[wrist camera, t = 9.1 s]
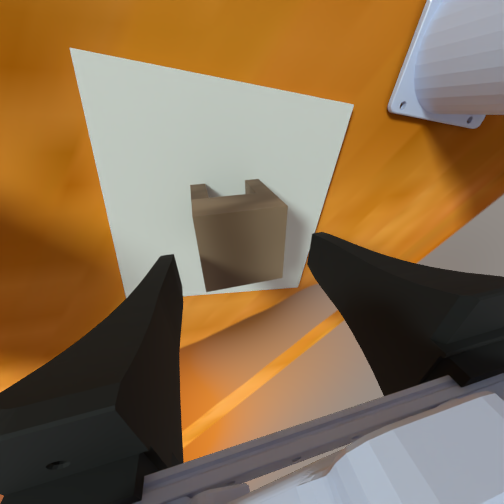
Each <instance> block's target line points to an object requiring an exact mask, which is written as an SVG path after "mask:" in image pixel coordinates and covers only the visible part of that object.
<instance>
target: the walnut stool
mask: <svg viewBox="0 0 504 504" xmlns="http://www.w3.org/2000/svg"><path fill="white" fill-rule="evenodd" d="M190 191H191V205H192V218H193V223H194V229H195V234H196V240H197V245H198V251H199V256H200V262H201V267H202V273H203V278H204V284H205V289H206V292H211V291H216V290H221V289H227V288H232V287H237V286H242V285H248V284H253V283H258V282H264V281H269V280H274V279H280V278H282V277H283V264H284V251H285V238H286V225H287V212H288V206H287V205H286V204H285V203H284V202H283V201H282V200H281V199H280V198H279V197H278V196H277V195H275V194H274V193H273V192H272V191H271V190H270V189H269V188H268V187H267V186H266V185H265V184H263V183H262V182H261V181H260V180H259V179H252V180H245V194H242V195H232V196H222V197H212V198H209V196H208V192H207V189H206V185H205V184H195V185H190Z"/></svg>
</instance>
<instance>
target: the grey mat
mask: <svg viewBox="0 0 504 504" xmlns="http://www.w3.org/2000/svg"><path fill="white" fill-rule="evenodd" d="M70 52H71V56H72V61H73V65H74V70H75V74H76V78H77V83H78V87H79V92H80V96H81V101H82V105H83V109H84V114H85V118H86V123H87V127H88V132H89V136H90V140H91V145H92V149H93V154H94V158H95V162H96V167H97V171H98V176H99V180H100V185H101V189H102V193H103V198H104V202H105V207H106V211H107V215H108V220H109V224H110V229H111V233H112V238H113V242H114V246H115V251H116V255H117V260H118V264H119V269H120V273H121V277H122V282H123V286H124V291H125V295H126V298H127V297H128V296H129V295H130V294H131V293H132V292H133V290H134V289H135V288H136V287H137V286H138V285H139V283H140V282H141V281H142V280H143V278H144V277H145V276H146V275H147V273H148V272H149V271H150V269H151V268H152V266H153V265H154V264H155V262H156V261H157V260H158V258H159V257H160V256H163V255H170V254H174V256H175V260H176V264H177V268H178V272H179V275H180V279H181V283H182V290H183V296H192V295H205V294H218V293H231V292H244V291H256V290H269V289H282V288H295V287H298V285H299V282H300V279H301V276H302V272H303V269H304V266H305V263H306V259H307V256H308V253H309V250H310V244H311V237H312V234H313V233H315V230H316V227H317V224H318V220H319V217H320V214H321V211H322V207H323V204H324V201H325V198H326V194H327V191H328V188H329V185H330V181H331V178H332V175H333V172H334V168H335V165H336V162H337V159H338V155H339V152H340V149H341V146H342V142H343V139H344V136H345V133H346V129H347V126H348V123H349V120H350V116H351V113H352V110H353V107H354V105H353V104H348V103H343V102H338V101H333V100H328V99H323V98H318V97H313V96H308V95H303V94H298V93H293V92H288V91H283V90H278V89H273V88H268V87H263V86H258V85H253V84H248V83H243V82H238V81H233V80H228V79H223V78H218V77H213V76H208V75H203V74H199V73H194V72H189V71H184V70H179V69H174V68H169V67H164V66H159V65H154V64H149V63H144V62H139V61H134V60H129V59H124V58H119V57H114V56H109V55H104V54H99V53H94V52H89V51H84V50H79V49H74V48H70ZM252 179H259V180H260V181H261V182H262V183H263V184H265V185H266V186H267V187H268V188H269V189H270V190H271V191H272V192H273V193H274V194H275V195H277V196H278V197H279V198H280V199H281V200H282V201H283V202H284V203H285V204H286V205H287V206H288V212H287V225H286V238H285V251H284V264H283V277H282V278H280V279H274V280H269V281H264V282H258V283H253V284H248V285H242V286H237V287H232V288H227V289H221V290H216V291H211V292H206V289H205V284H204V278H203V273H202V267H201V262H200V256H199V251H198V245H197V240H196V234H195V229H194V223H193V218H192V205H191V191H190V185H195V184H205V185H206V189H207V192H208V196H209V198H212V197H222V196H232V195H242V194H245V180H252Z"/></svg>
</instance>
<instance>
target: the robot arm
mask: <svg viewBox="0 0 504 504" xmlns="http://www.w3.org/2000/svg"><path fill="white" fill-rule="evenodd" d="M401 103H402V106H401V108H400V105H401ZM388 111H389V112H390V113H395V114H400V115H405V116H410V117H415V118H420V119H425V120H430V121H435V122H440V123H445V124H450V125H455V126H460V127H465V128H471V129H475V128H477V127H478V126H479V125H480V124H481V123H482V121H483V120H484V118H485V116H486V115H504V0H427V2H426V4H425V7H424V10H423V12H422V15H421V18H420V20H419V23H418V26H417V28H416V31H415V34H414V36H413V39H412V42H411V44H410V47H409V50H408V52H407V55H406V58H405V60H404V63H403V66H402V68H401V71H400V74H399V76H398V79H397V82H396V84H395V87H394V90H393V92H392V95H391V98H390V100H389V103H388ZM307 264H308V266H309V268H310V270H311V272H312V274H313V276H314V278H315V279H316V281H317V282H318V283H319V285H320V286H321V288H322V289H323V290H324V291H325V293H326V294H327V296H328V297H329V298H330V300H331V301H332V302H333V303H334V305H335V306H336V307H337V309H338V310H339V312H340V313H341V315H342V316H343V318H344V319H345V321H346V323H347V324H348V326H349V328H350V329H351V331H352V333H353V335H354V336H355V338H356V340H357V342H358V344H359V345H360V347H361V349H362V351H363V353H364V355H365V357H366V359H367V361H368V363H369V365H370V366H371V369H372V371H373V373H374V375H375V377H376V379H377V381H378V384H379V386H380V388H381V390H382V392H383V395H384V397H381V398H378V399H375V400H372V401H369V402H366V403H363V404H360V405H357V406H354V407H351V408H348V409H345V410H342V411H339V412H336V413H333V414H330V415H327V416H324V417H321V418H318V419H315V420H312V421H309V422H305V423H303V424H300V425H296V426H293V427H291V428H287V429H285V430H281V431H278V432H275V433H272V434H269V435H266V436H263V437H260V438H257V439H254V440H251V441H248V442H245V443H242V444H239V445H236V446H233V447H230V448H227V449H224V450H222V451H218V452H215V453H212V454H209V455H206V456H203V457H200V458H197V459H194V460H191V461H188V462H185V463H183V446H182V428H181V406H180V371H179V348H180V335H181V324H182V312H183V290H182V283H181V279H180V275H179V272H178V268H177V264H176V260H175V256H174V254H170V255H163V256H160V257H159V258H158V260H157V261H156V262H155V264H154V265H153V266H152V268H151V269H150V271H149V272H148V273H147V275H146V276H145V277H144V278H143V280H142V281H141V282H140V283H139V285H138V286H137V287H136V288H135V289H134V290H133V292H132V293H131V294H130V295H129V296H128V297H127V298H126V299H125V300H124V301H123V302H122V303H121V304H120V305H119V306H118V307H117V308H116V309H115V310H114V311H113V312H112V313H111V314H110V315H109V316H108V317H107V318H106V319H104V320H103V321H102V322H101V323H100V324H98V325H97V326H96V327H95V328H93V329H92V330H91V331H90V332H89V333H87V334H86V335H85V336H84V337H82V338H81V339H80V340H79V341H77V342H76V343H75V344H73V345H72V346H70V347H69V348H68V349H66V350H65V351H64V352H62V353H61V354H59V355H58V356H56V357H55V358H54V359H52V360H51V361H49V362H48V363H46V364H45V365H43V366H42V367H40V368H39V369H37V370H36V371H34V372H32V373H31V374H29V375H28V376H26V377H25V378H23V379H21V380H20V381H18V382H17V383H15V384H14V385H12V386H10V387H9V388H7V389H6V390H4V391H2V392H1V393H0V494H1V495H4V497H3V500H2V502H1V504H504V277H501V276H492V275H483V274H474V273H465V272H458V271H452V270H445V269H440V268H434V267H429V266H424V265H420V264H415V263H411V262H407V261H403V260H400V259H396V258H393V257H389V256H386V255H383V254H380V253H377V252H374V251H371V250H368V249H366V248H363V247H360V246H358V245H355V244H353V243H350V242H348V241H345V240H343V239H340V238H338V237H335V236H333V235H330V234H327V233H324V232H320V233H313V234H312V237H311V244H310V250H309V257H308V263H307ZM352 442H353V443H352ZM350 443H351V444H350ZM347 444H350V445H348V446H346V447H345V448H344V449H342V450H340V451H338V452H335V453H333V454H331V455H329V456H326V457H324V458H322V459H320V460H317V461H315V462H313V463H311V464H309V465H307V466H305V467H303V468H300V469H298V470H296V471H294V472H292V473H290V474H288V475H286V476H284V477H282V478H279V479H277V480H275V481H273V482H271V483H269V484H267V485H264V486H262V487H260V488H258V489H256V490H254V491H252V492H250V490H249V486H248V485H247V484H246V483H244V482H247V481H249V480H252V479H255V478H257V477H260V476H263V475H266V474H268V473H271V472H274V471H276V470H279V469H282V468H284V467H287V466H290V465H292V464H296V463H298V462H301V461H304V460H306V459H309V458H311V457H314V456H317V455H320V454H323V453H325V452H328V451H331V450H333V449H336V448H338V447H341V446H344V445H347ZM241 483H243V484H241Z"/></svg>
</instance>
